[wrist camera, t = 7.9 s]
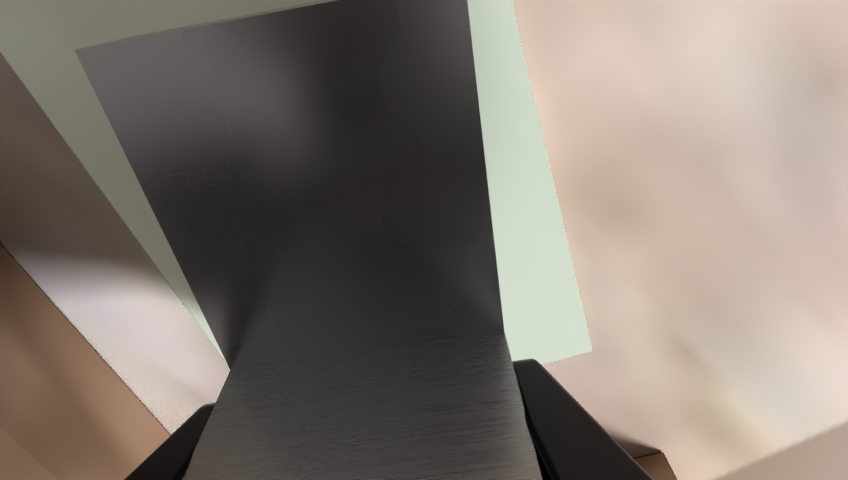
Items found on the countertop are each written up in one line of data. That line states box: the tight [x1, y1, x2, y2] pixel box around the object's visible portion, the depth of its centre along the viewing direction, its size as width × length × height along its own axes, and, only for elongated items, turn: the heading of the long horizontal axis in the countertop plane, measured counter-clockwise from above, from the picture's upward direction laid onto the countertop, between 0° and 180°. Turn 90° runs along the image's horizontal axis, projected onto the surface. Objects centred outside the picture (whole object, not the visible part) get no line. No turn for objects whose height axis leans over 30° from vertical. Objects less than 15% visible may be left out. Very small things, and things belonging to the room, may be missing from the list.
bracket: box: [75, 0, 542, 480], centre depth 5 cm, size 6×4×6 cm
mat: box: [0, 0, 593, 365], centre depth 9 cm, size 11×8×1 cm
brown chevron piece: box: [0, 244, 677, 480], centre depth 9 cm, size 20×14×2 cm
